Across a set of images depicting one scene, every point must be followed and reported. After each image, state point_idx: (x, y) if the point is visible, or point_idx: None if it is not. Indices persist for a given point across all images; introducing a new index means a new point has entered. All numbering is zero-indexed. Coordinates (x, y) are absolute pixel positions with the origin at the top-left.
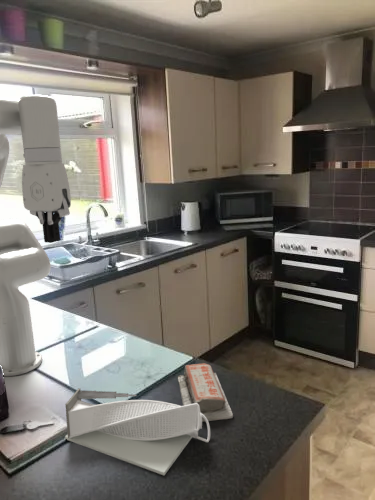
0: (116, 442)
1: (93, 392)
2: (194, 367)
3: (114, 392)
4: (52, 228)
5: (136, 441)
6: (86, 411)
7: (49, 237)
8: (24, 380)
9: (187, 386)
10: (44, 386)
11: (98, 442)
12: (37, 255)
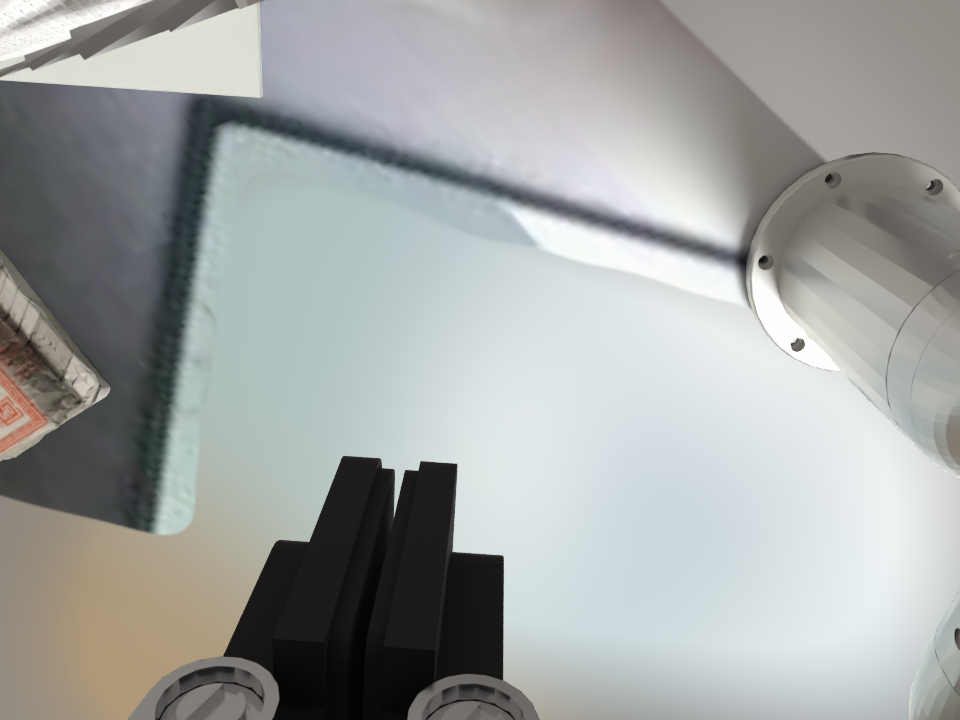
0: None
1: (160, 4)
2: (5, 417)
3: (74, 40)
4: (254, 643)
5: None
6: None
7: (329, 498)
8: (729, 163)
9: (20, 334)
10: (604, 155)
11: None
12: None
